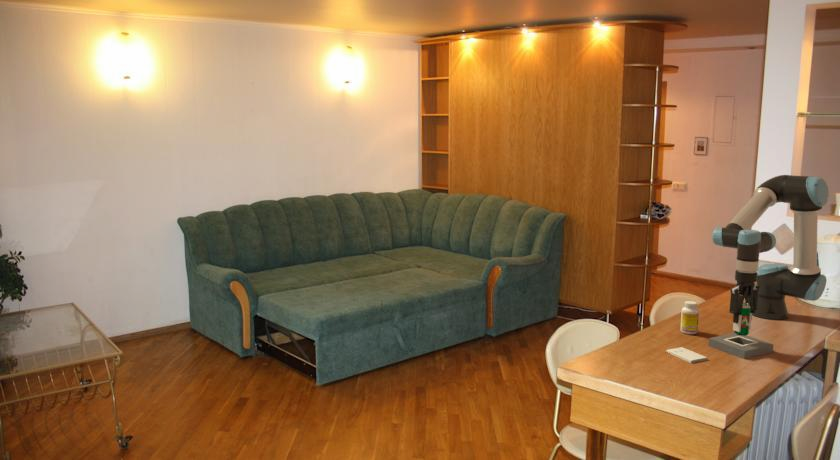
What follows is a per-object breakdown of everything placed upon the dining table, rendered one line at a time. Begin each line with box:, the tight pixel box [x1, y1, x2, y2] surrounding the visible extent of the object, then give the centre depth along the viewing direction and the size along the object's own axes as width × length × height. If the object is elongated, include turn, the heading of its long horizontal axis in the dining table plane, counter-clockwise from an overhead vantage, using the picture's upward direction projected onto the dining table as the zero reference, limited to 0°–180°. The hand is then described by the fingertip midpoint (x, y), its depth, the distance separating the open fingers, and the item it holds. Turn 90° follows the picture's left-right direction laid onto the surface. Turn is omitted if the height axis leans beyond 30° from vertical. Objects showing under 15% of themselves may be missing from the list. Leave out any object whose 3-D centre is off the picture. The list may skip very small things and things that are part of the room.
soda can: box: [733, 302, 751, 336], centre depth 251 cm, size 5×5×12 cm
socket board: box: [708, 332, 775, 360], centre depth 253 cm, size 16×16×3 cm
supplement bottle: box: [680, 300, 700, 335], centre depth 272 cm, size 7×7×13 cm
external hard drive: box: [665, 346, 709, 364], centre depth 246 cm, size 2×8×12 cm
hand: (741, 329), depth 252 cm, fingers closed on soda can, 5 cm apart
